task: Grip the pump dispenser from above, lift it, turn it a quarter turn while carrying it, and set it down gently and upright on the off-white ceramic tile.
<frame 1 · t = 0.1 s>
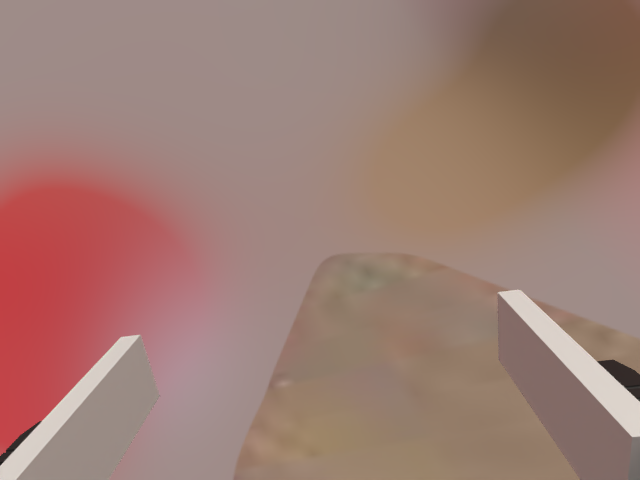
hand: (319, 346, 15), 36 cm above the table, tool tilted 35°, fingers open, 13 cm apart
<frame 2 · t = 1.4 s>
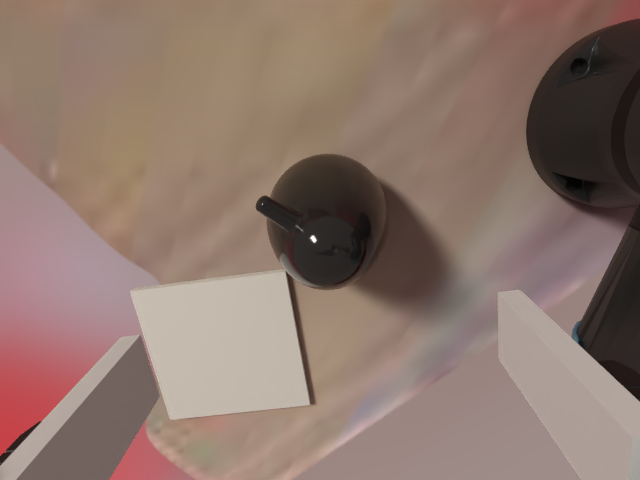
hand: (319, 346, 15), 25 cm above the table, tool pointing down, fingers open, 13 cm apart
pump dispenser: (326, 203, 38), on the table
ceramic tile: (225, 346, 43), on the table
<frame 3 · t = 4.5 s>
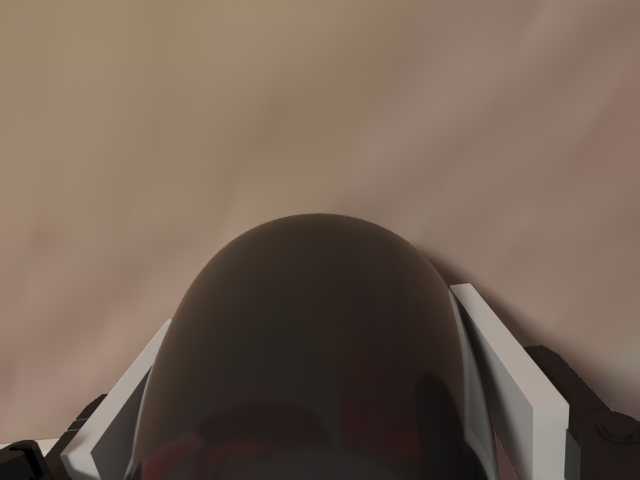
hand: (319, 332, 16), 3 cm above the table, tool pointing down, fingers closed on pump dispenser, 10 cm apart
pump dispenser: (319, 299, 18), on the table, touching gripper
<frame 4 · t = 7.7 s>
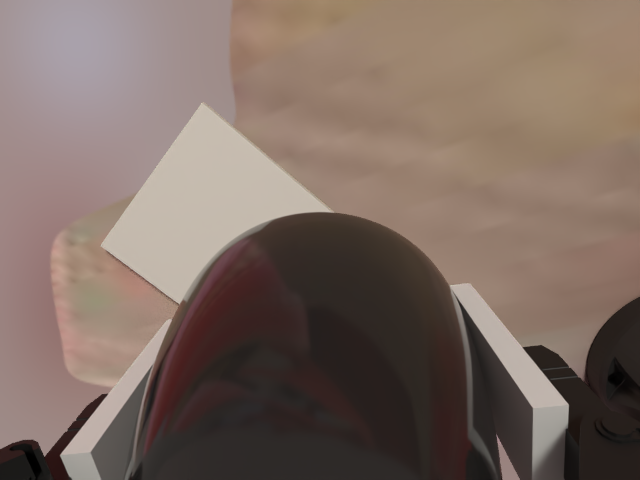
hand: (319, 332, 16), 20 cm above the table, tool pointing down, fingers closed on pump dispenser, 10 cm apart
pump dispenser: (320, 298, 18), point 17 cm above the table, touching gripper
ceramic tile: (225, 234, 36), on the table
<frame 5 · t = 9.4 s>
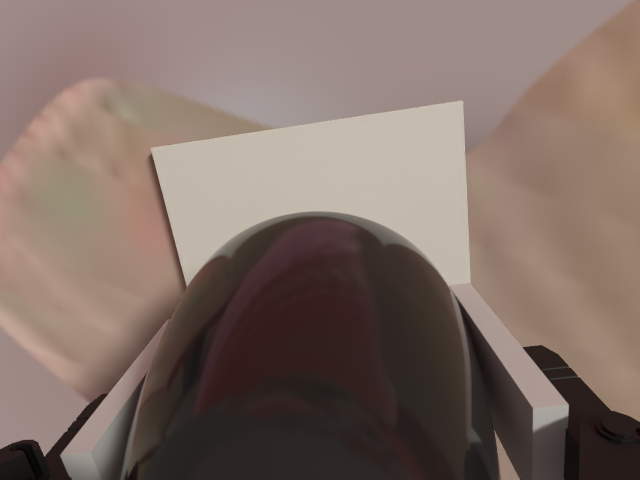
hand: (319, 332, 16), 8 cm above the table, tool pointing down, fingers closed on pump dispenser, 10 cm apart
pump dispenser: (319, 298, 18), point 5 cm above the table, touching gripper
ceramic tile: (325, 266, 23), on the table
when the fingers open (5 cm above the table, at t = 11.0 s): pump dispenser stays where it is, resting on ceramic tile.
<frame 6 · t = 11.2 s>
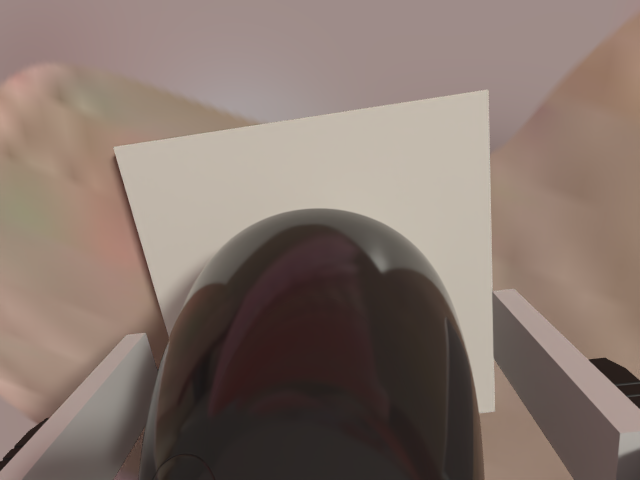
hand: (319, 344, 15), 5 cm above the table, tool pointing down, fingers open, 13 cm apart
pump dispenser: (319, 290, 19), point 1 cm above the table, touching ceramic tile
ceramic tile: (322, 284, 20), on the table
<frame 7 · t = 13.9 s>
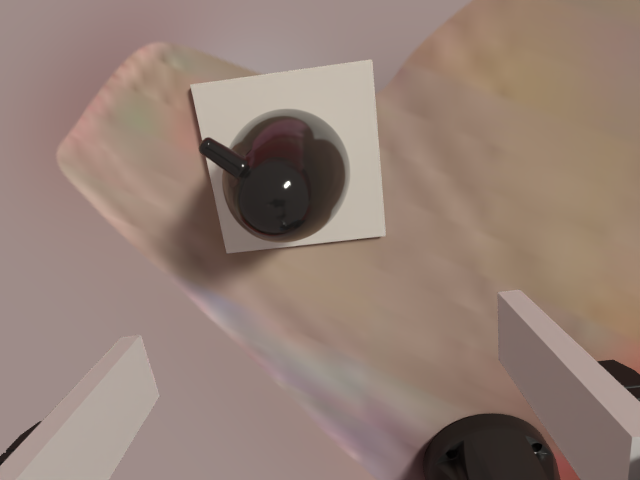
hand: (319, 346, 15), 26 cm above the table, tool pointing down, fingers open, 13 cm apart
pump dispenser: (292, 164, 38), point 1 cm above the table, touching ceramic tile
ceramic tile: (294, 163, 38), on the table
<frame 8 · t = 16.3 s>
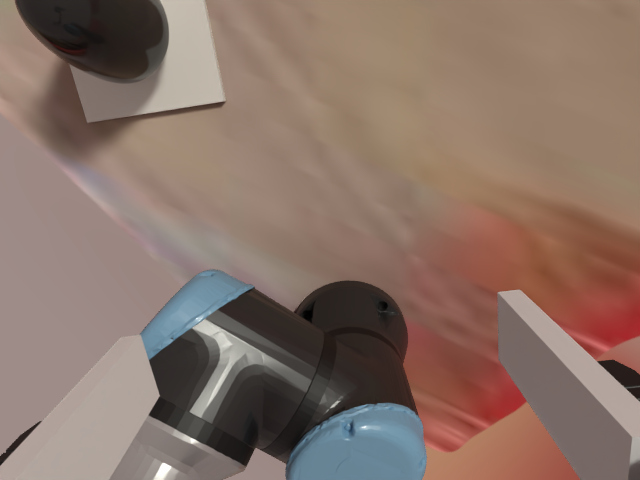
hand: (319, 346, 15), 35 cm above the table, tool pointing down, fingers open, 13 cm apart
pump dispenser: (134, 34, 43), point 1 cm above the table, touching ceramic tile
ceramic tile: (138, 35, 43), on the table
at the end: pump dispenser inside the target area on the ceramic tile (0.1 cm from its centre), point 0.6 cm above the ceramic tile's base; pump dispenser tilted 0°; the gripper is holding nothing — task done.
